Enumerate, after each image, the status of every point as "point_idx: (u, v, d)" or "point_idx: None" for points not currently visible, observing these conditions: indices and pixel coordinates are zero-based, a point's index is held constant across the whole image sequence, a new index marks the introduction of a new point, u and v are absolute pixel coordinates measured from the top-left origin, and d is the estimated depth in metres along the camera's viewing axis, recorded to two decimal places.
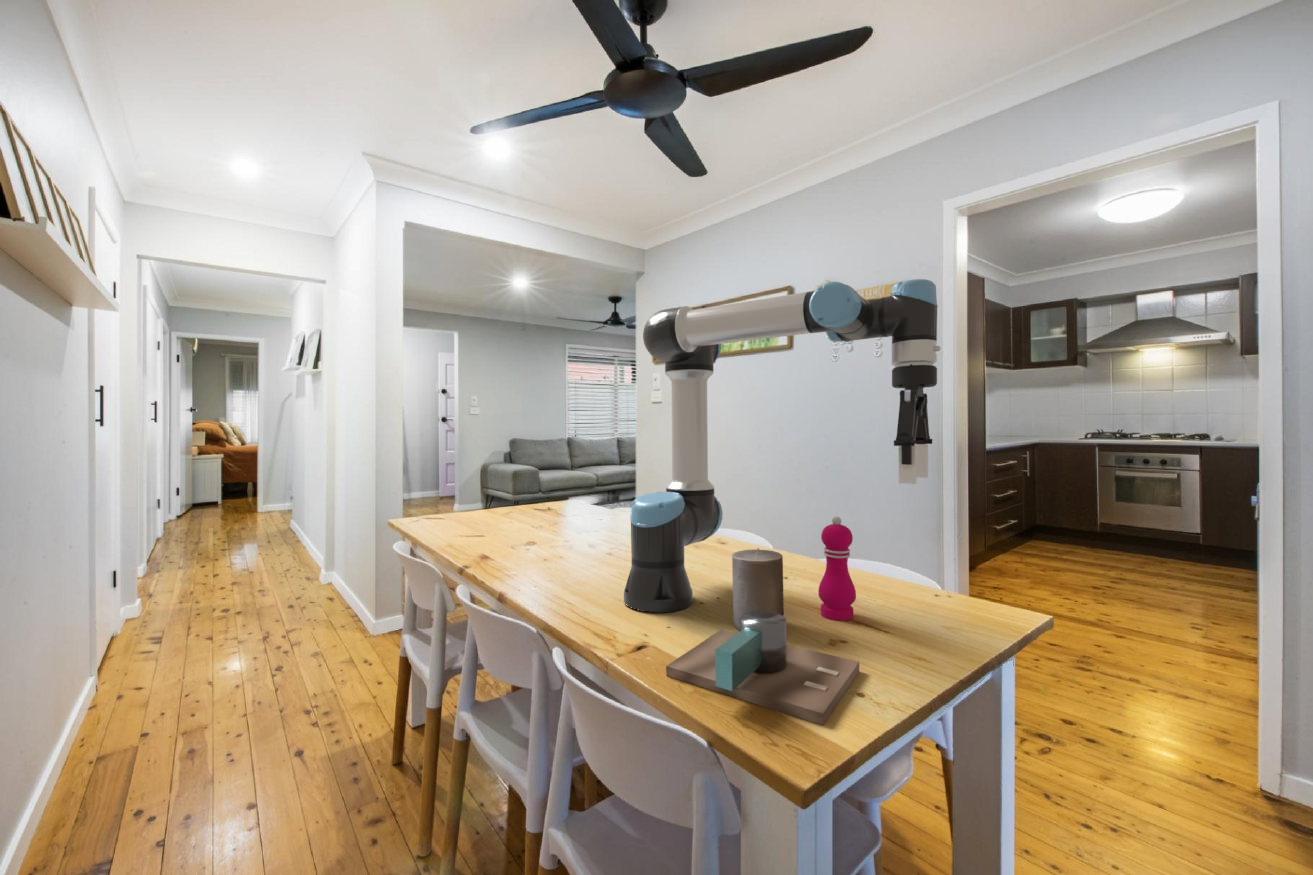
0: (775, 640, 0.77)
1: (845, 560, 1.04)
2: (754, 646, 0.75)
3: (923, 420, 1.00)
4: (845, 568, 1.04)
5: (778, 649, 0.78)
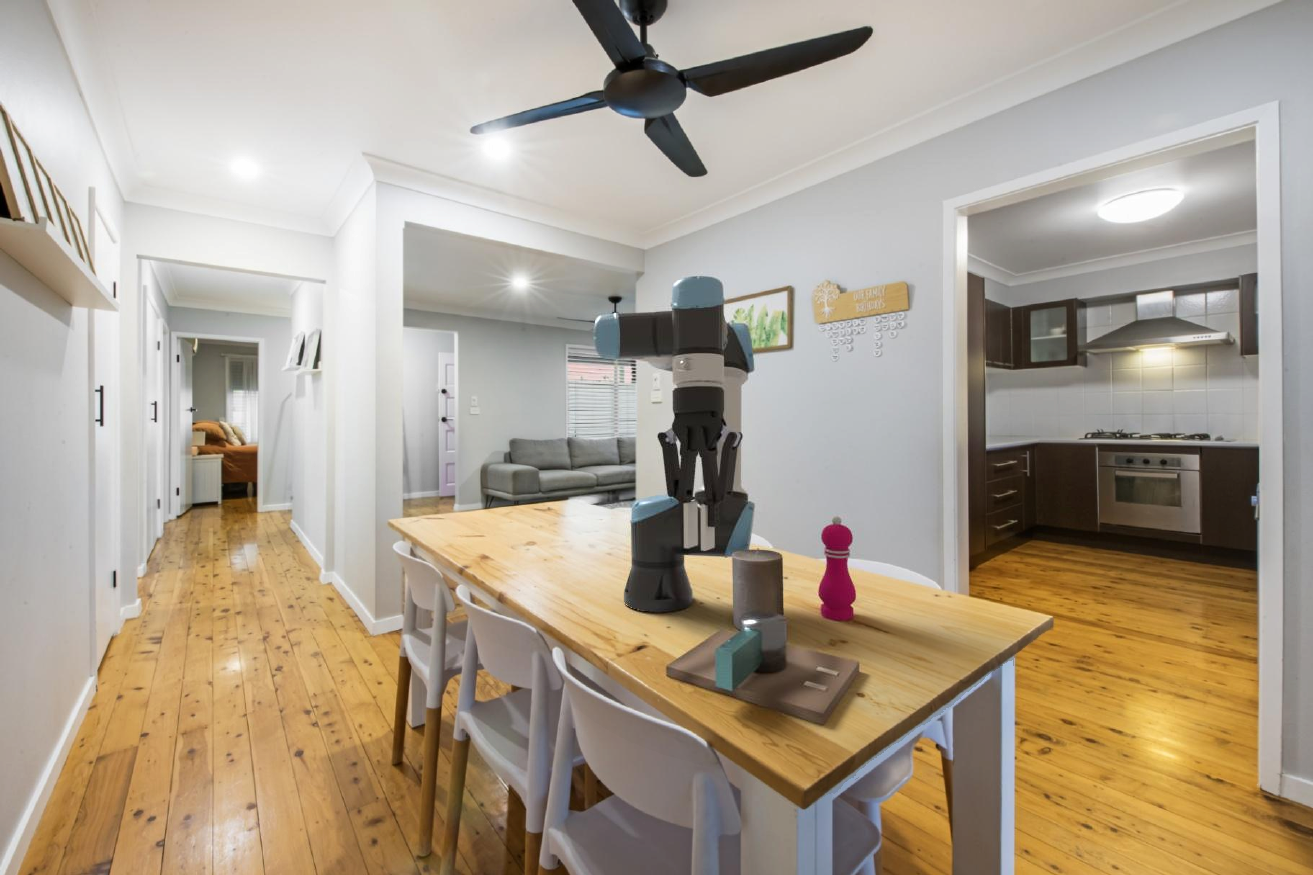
0: (775, 640, 0.77)
1: (845, 560, 1.04)
2: (754, 646, 0.75)
3: (702, 461, 0.75)
4: (845, 568, 1.04)
5: (778, 649, 0.78)
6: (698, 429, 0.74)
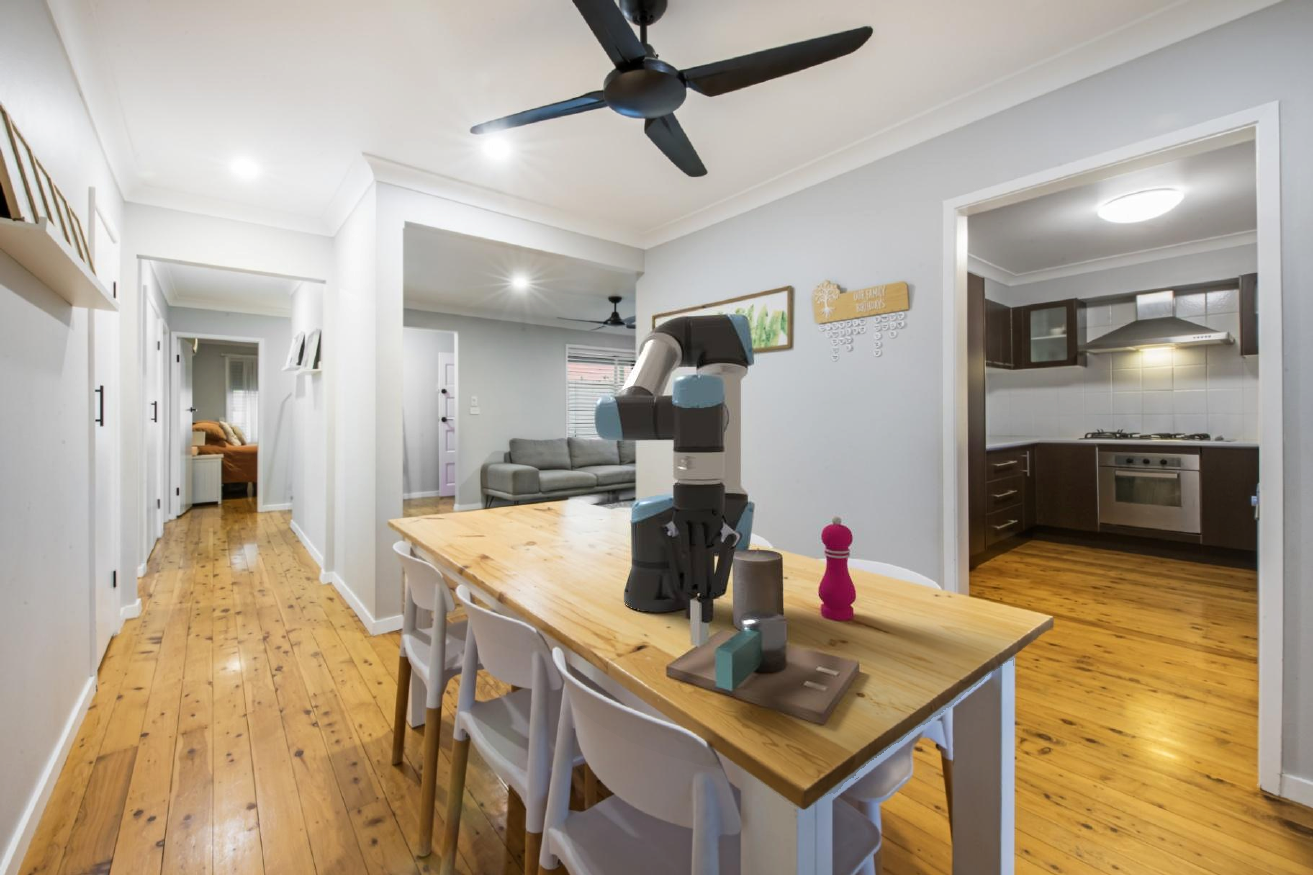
0: (775, 640, 0.77)
1: (845, 560, 1.04)
2: (754, 646, 0.75)
3: (699, 557, 0.75)
4: (845, 568, 1.04)
5: (778, 649, 0.78)
6: (699, 526, 0.74)
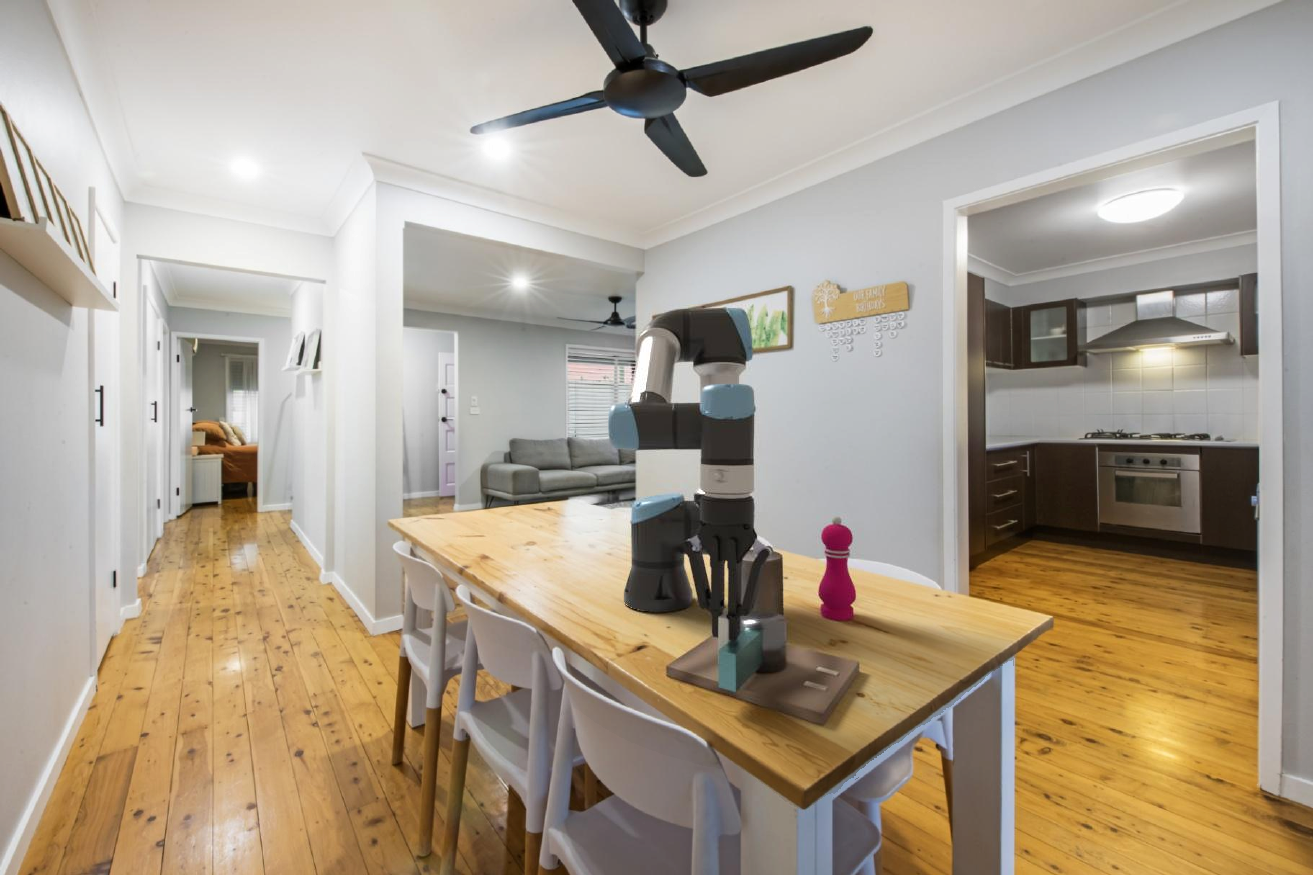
0: (776, 640, 0.77)
1: (845, 560, 1.04)
2: (756, 647, 0.75)
3: (728, 572, 0.73)
4: (845, 568, 1.04)
5: (778, 649, 0.78)
6: (730, 542, 0.72)
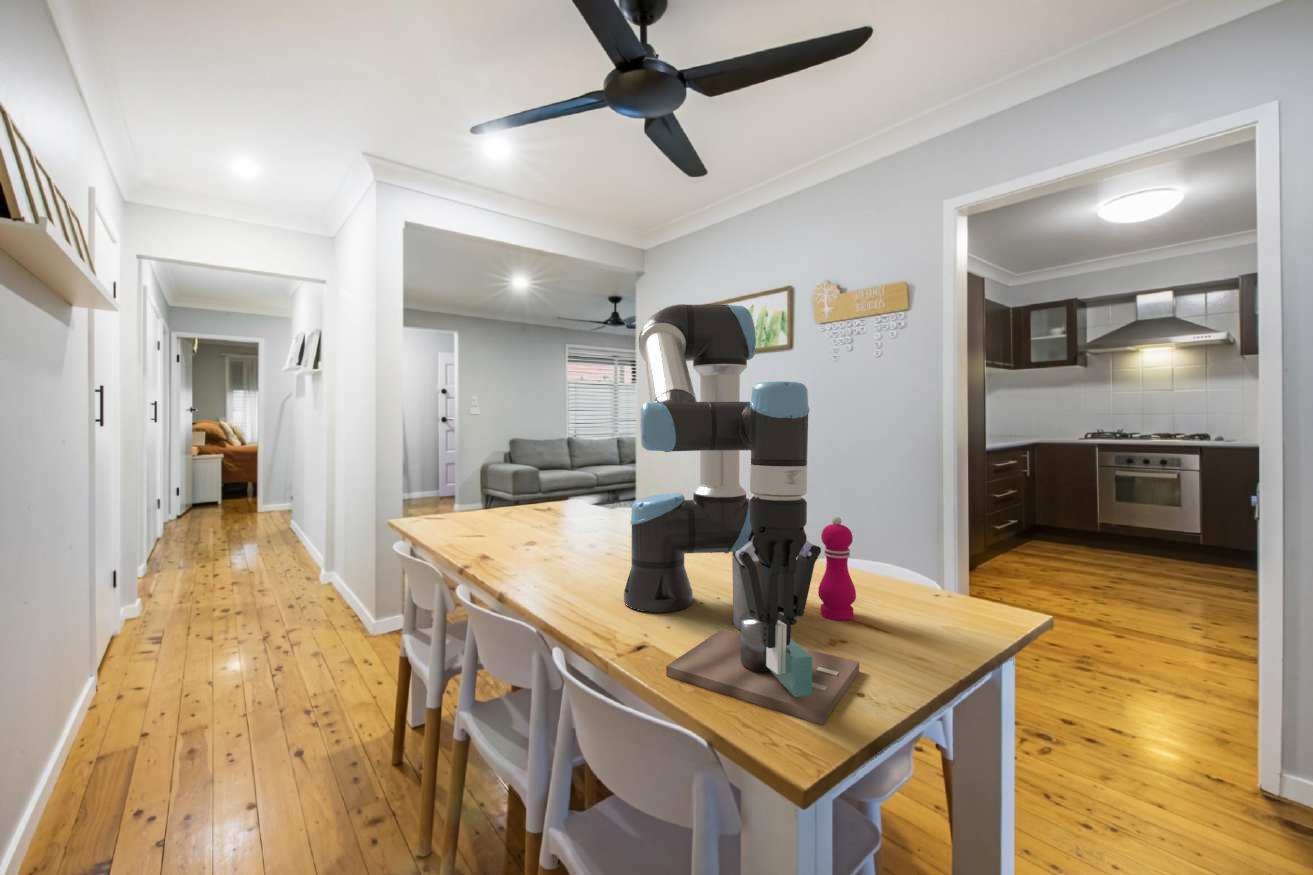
0: None
1: (845, 560, 1.04)
2: None
3: (786, 577, 0.70)
4: (845, 568, 1.04)
5: None
6: (793, 544, 0.70)
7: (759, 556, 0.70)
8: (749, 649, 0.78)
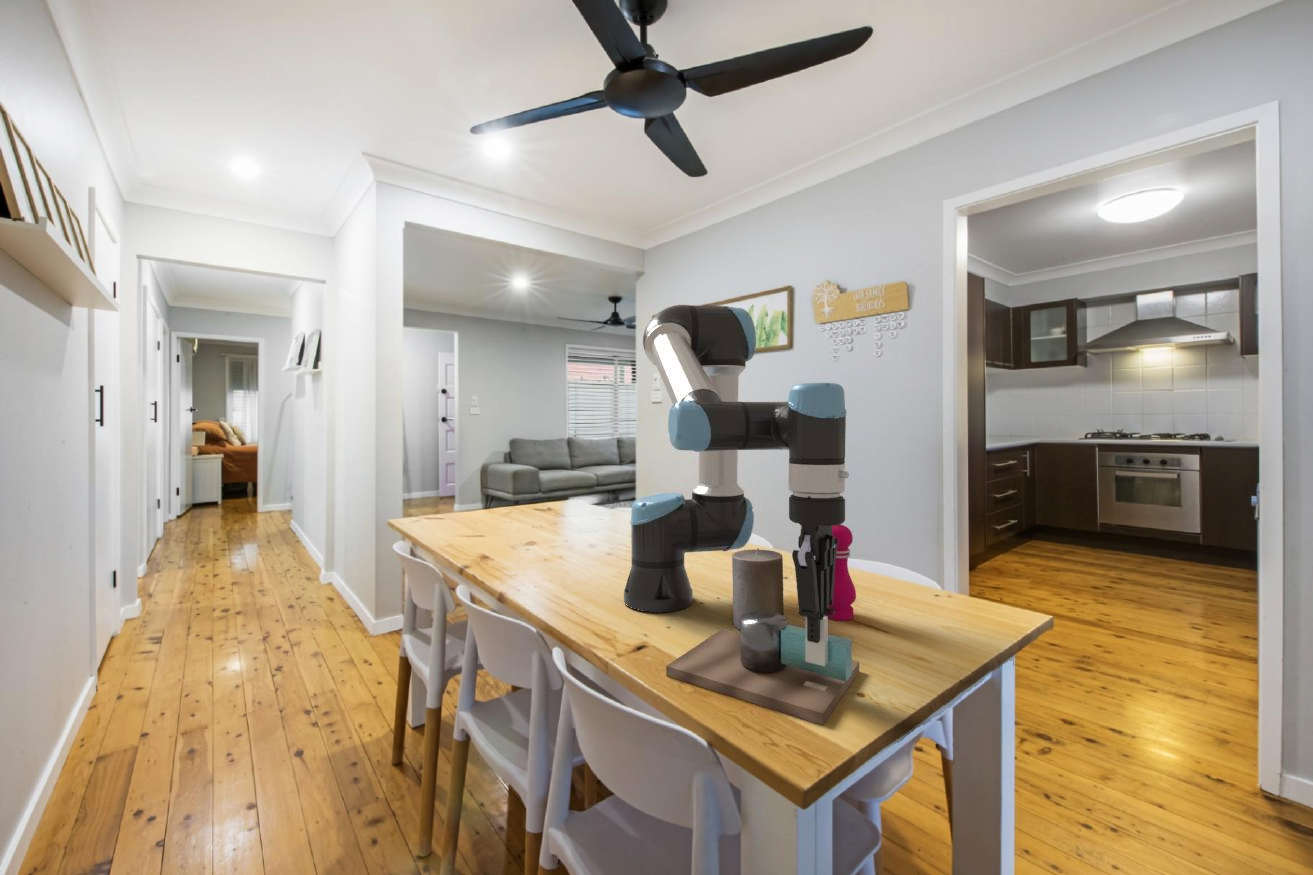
0: None
1: (845, 560, 1.04)
2: None
3: (825, 570, 0.73)
4: (845, 568, 1.04)
5: None
6: (833, 538, 0.73)
7: None
8: (765, 652, 0.77)
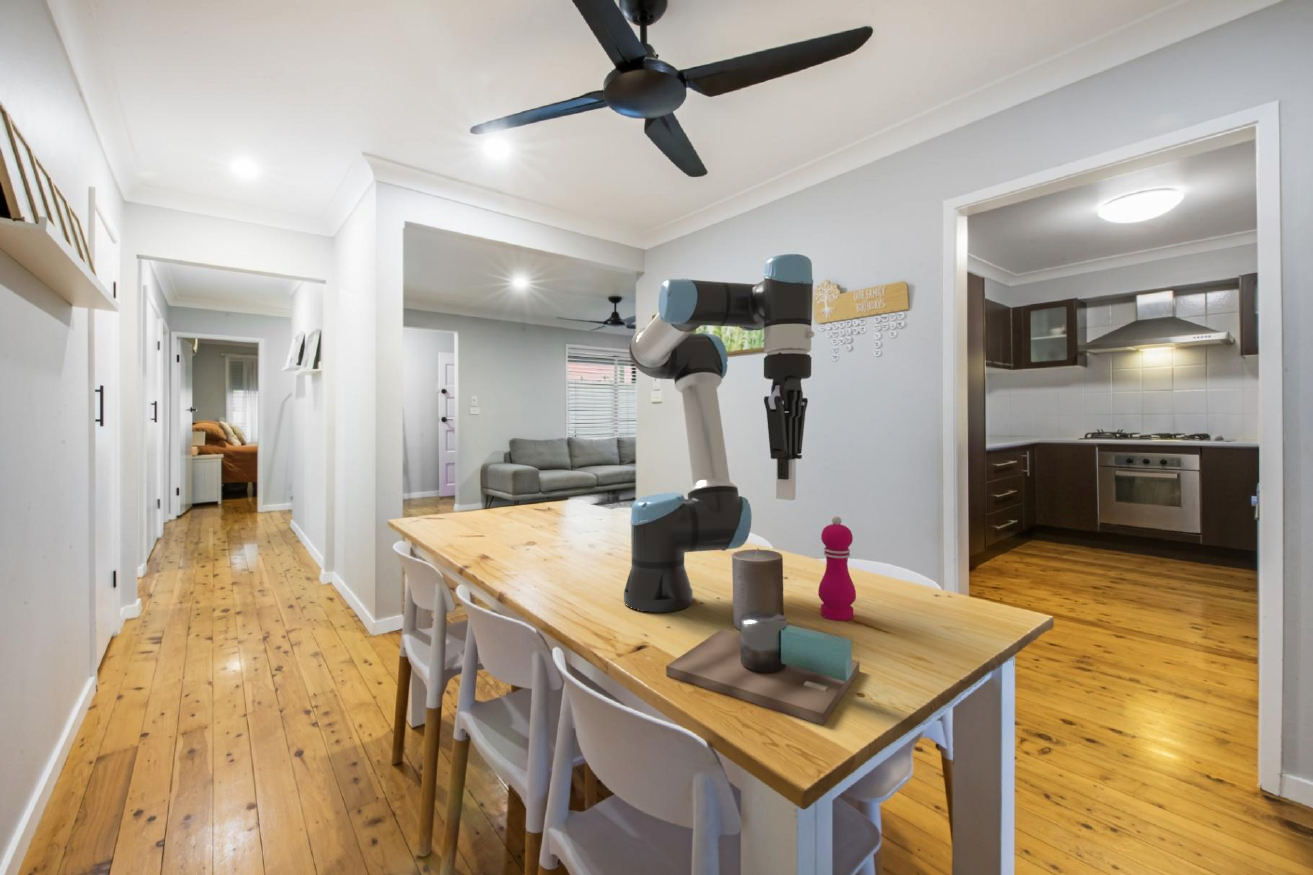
0: None
1: (845, 560, 1.04)
2: None
3: (794, 420, 0.85)
4: (845, 568, 1.04)
5: None
6: (801, 392, 0.85)
7: None
8: (765, 652, 0.77)
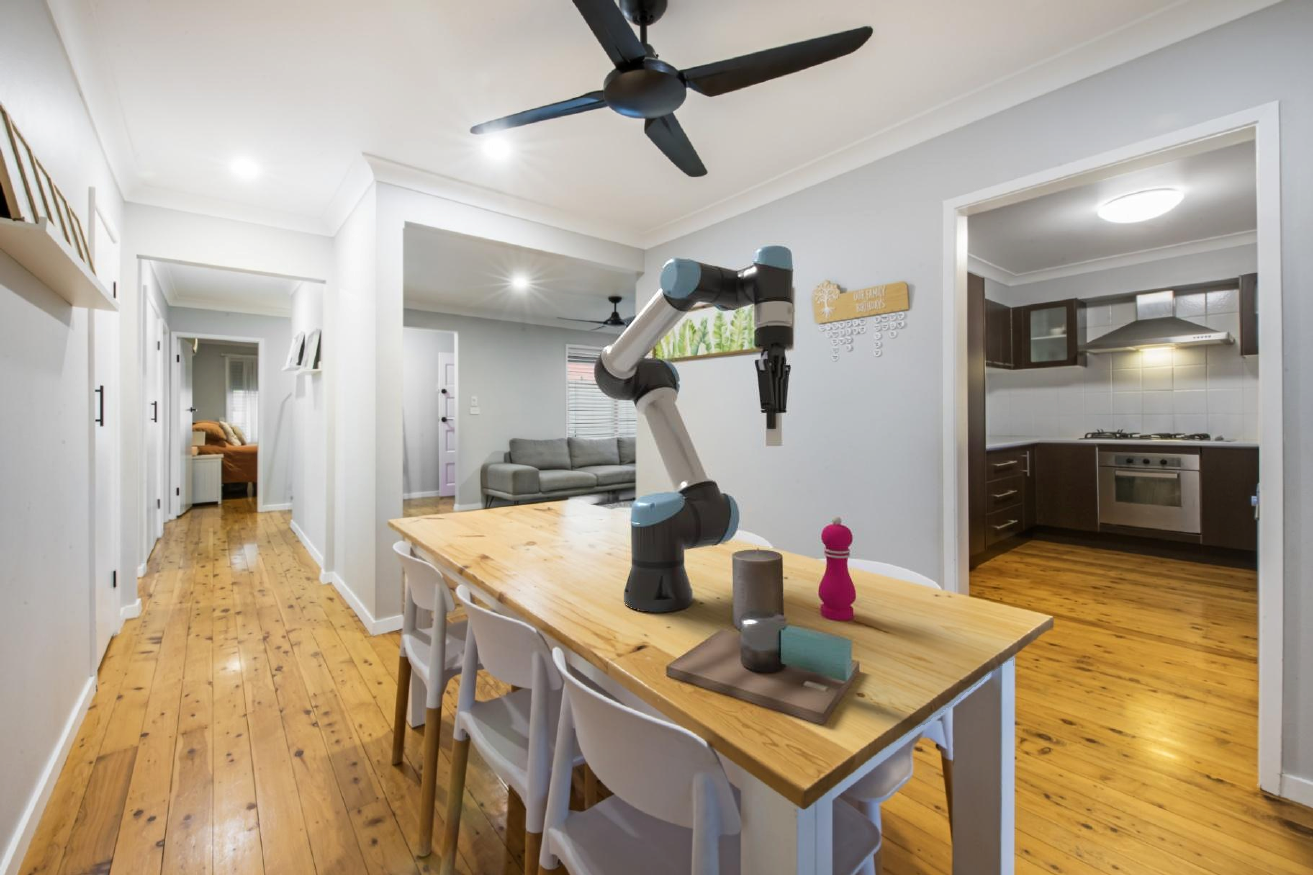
0: None
1: (845, 560, 1.04)
2: None
3: (780, 381, 1.04)
4: (845, 568, 1.04)
5: None
6: (785, 358, 1.04)
7: None
8: (765, 652, 0.77)
